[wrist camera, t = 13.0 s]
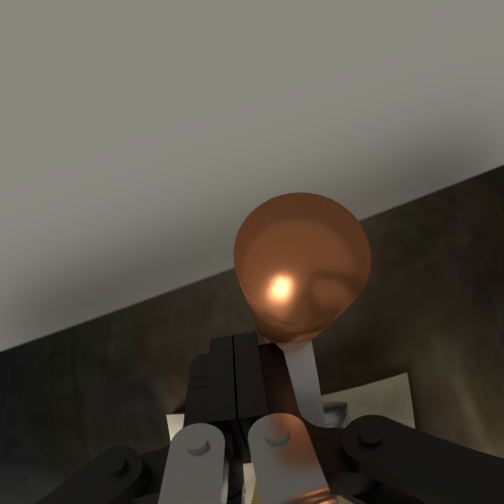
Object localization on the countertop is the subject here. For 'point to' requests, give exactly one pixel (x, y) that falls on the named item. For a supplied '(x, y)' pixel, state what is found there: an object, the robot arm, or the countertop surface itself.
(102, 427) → the countertop surface
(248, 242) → the valve lever
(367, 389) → the valve
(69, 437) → the countertop surface
